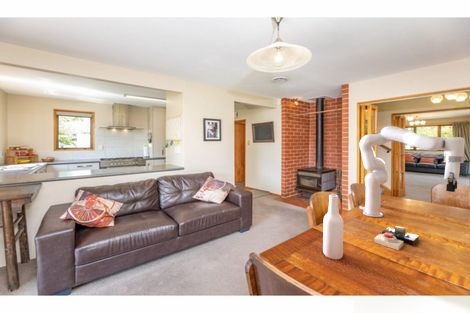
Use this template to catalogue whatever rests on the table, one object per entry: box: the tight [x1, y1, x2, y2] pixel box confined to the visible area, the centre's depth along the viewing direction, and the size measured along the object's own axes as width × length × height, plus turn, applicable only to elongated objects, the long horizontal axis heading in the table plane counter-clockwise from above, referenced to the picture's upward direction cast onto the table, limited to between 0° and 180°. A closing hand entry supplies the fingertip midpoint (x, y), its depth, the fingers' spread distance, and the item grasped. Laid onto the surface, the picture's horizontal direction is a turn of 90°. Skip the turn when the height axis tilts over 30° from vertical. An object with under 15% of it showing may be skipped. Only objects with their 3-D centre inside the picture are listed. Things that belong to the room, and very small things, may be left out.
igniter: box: [373, 233, 404, 251], centre depth 110 cm, size 11×8×4 cm
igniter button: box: [384, 233, 393, 238], centre depth 110 cm, size 4×4×2 cm
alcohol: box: [322, 193, 345, 260], centre depth 99 cm, size 9×9×30 cm
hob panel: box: [381, 226, 419, 247], centre depth 115 cm, size 14×10×3 cm
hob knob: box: [394, 225, 407, 235], centre depth 115 cm, size 5×1×4 cm, turn 37°
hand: (451, 190), depth 114 cm, fingers open, 9 cm apart
